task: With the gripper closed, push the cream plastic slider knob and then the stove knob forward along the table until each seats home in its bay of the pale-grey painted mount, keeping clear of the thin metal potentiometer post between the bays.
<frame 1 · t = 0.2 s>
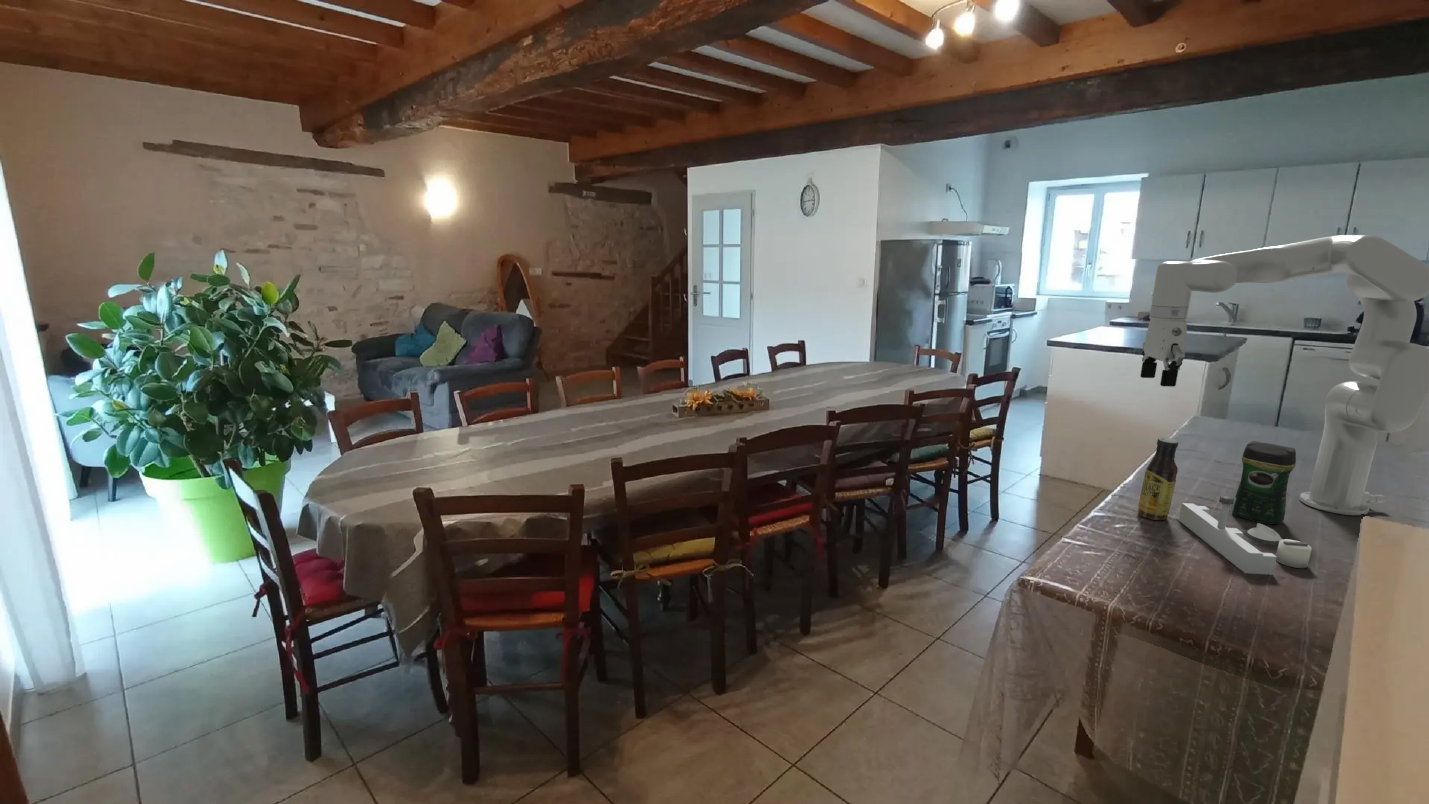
hand: (1157, 381, 158), 31 cm above the table, fingers open, 9 cm apart
mount: (1221, 545, 140), on the table
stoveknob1: (1263, 539, 143), on the table
sauce bottle: (1152, 517, 154), on the table
coffee jar: (1256, 518, 153), on the table
knob slider: (1293, 552, 131), point 2 cm above the table, slide at 0.0 cm
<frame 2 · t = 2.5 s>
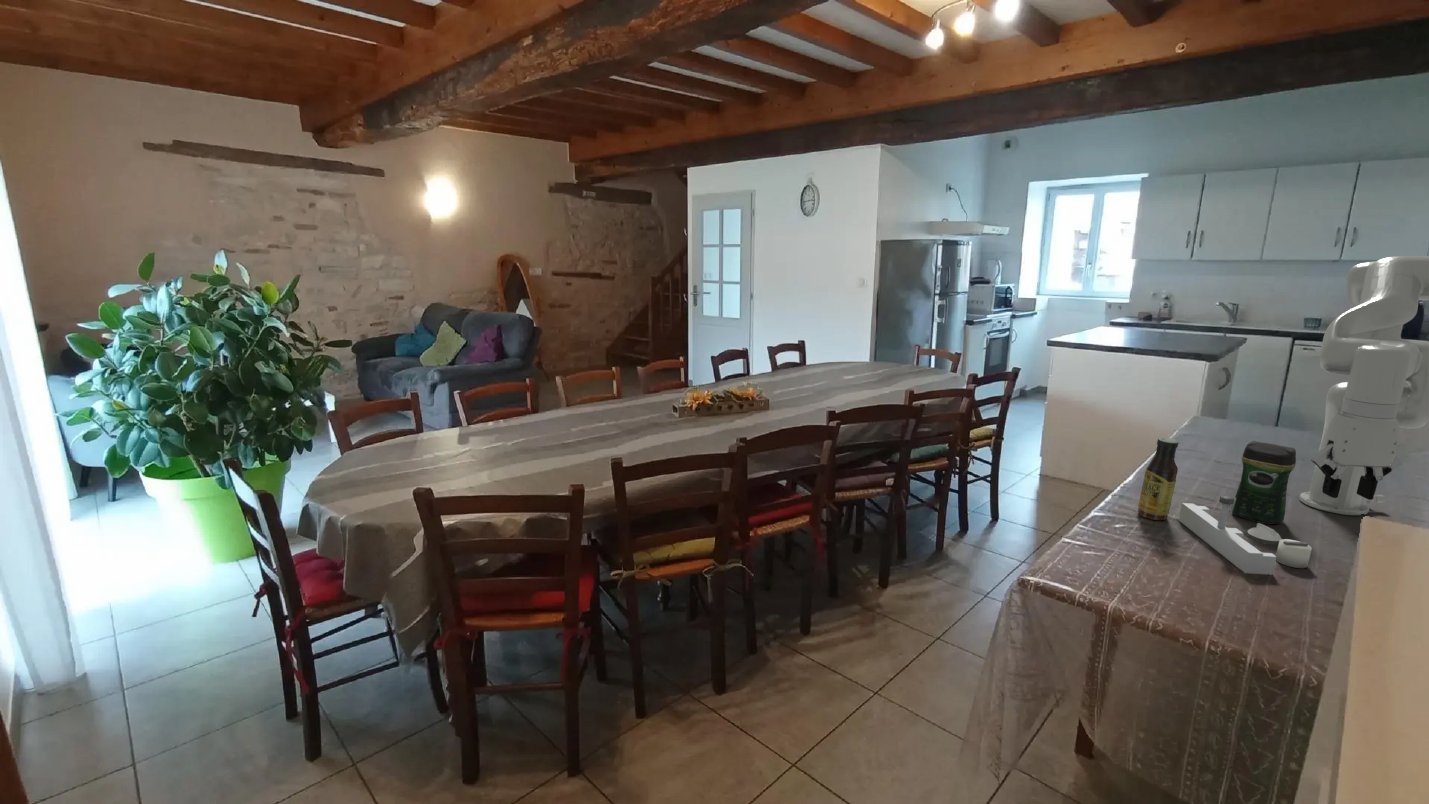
hand: (1347, 495, 127), 15 cm above the table, fingers open, 5 cm apart
nothing on the table moved.
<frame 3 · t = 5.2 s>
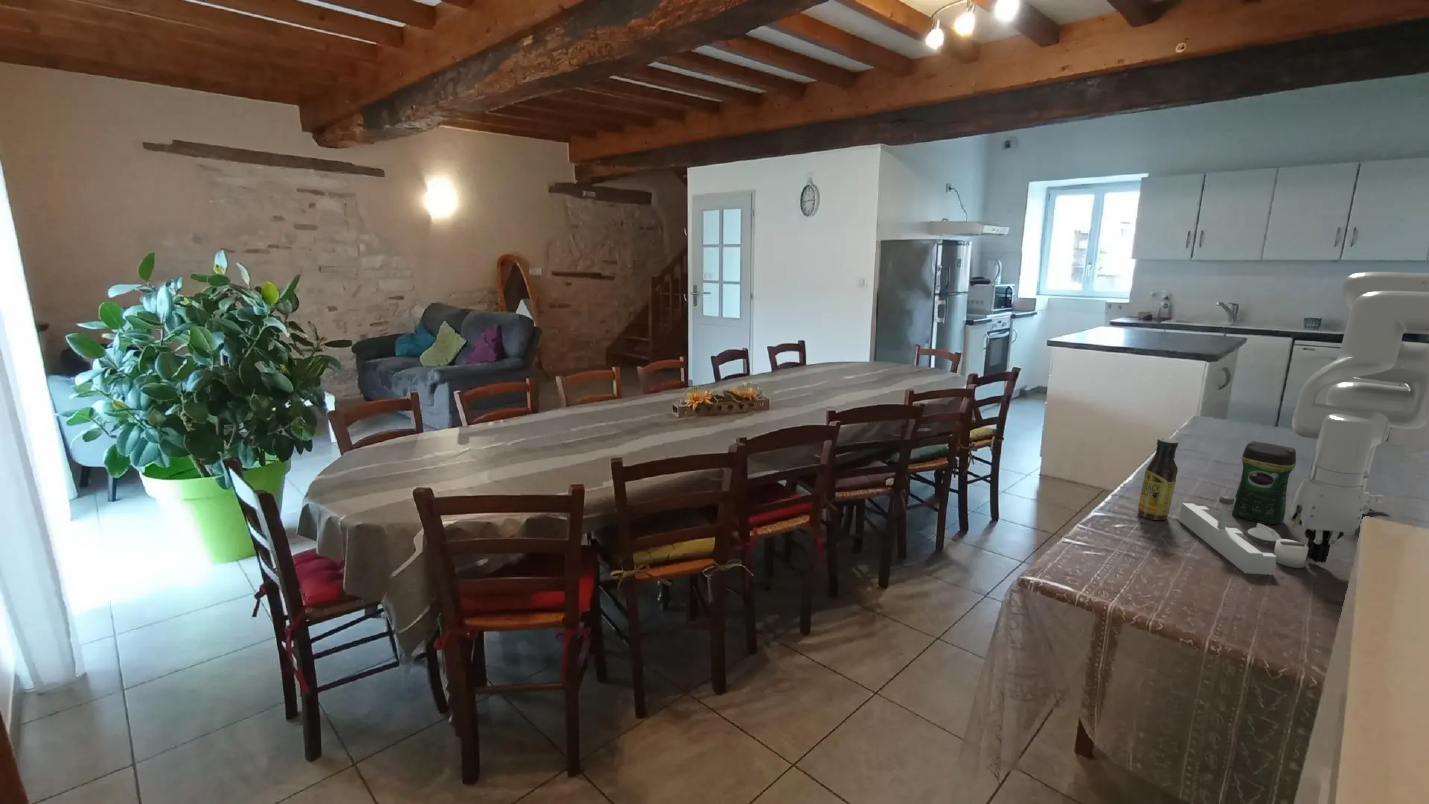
hand: (1315, 559, 131), 1 cm above the table, fingers closed
knob slider: (1290, 552, 131), point 2 cm above the table, slide at 0.6 cm, touching gripper
everything else where it was.
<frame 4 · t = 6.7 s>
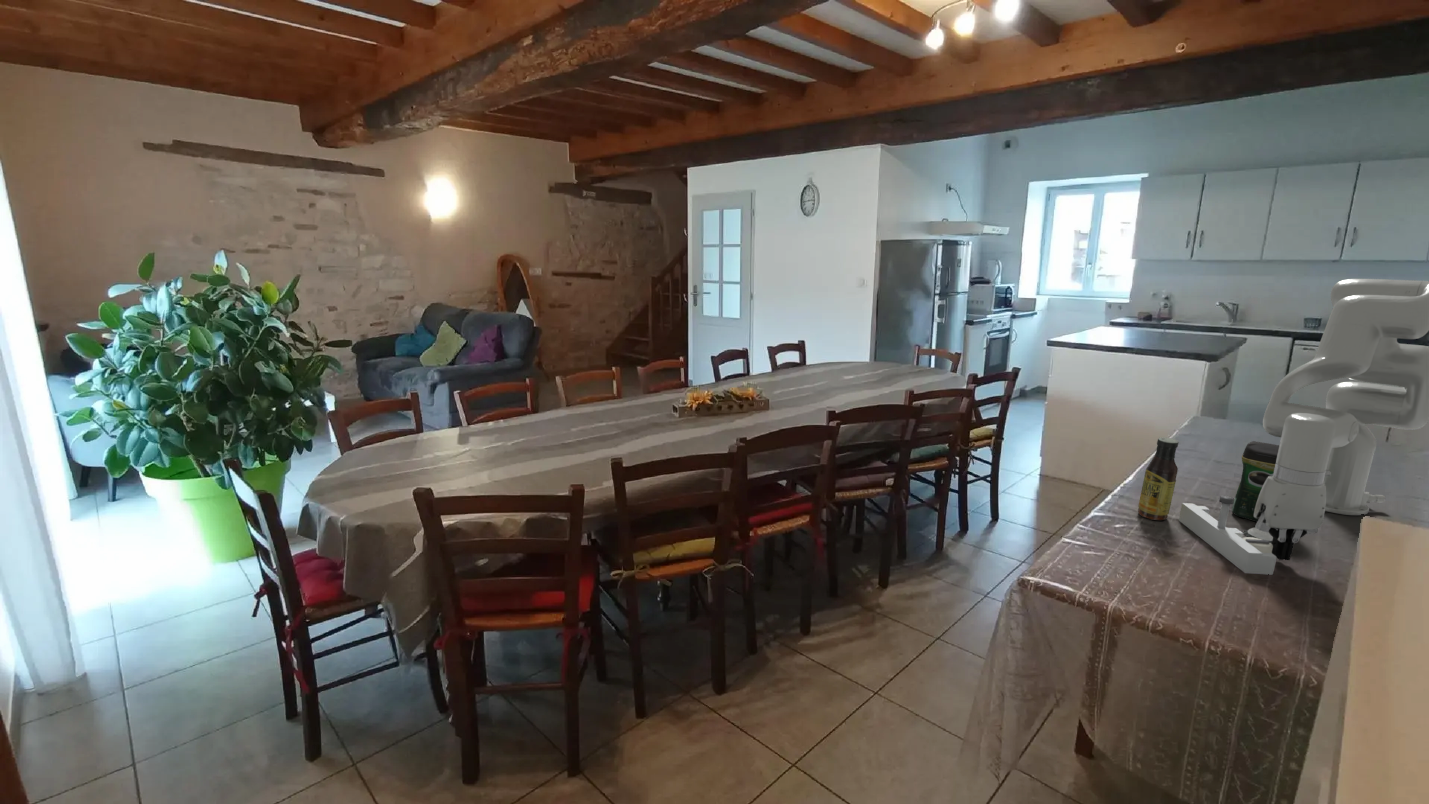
hand: (1279, 556, 132), 1 cm above the table, fingers closed
knob slider: (1255, 550, 132), point 2 cm above the table, slide at 7.0 cm, touching gripper, mount
everything else where it was.
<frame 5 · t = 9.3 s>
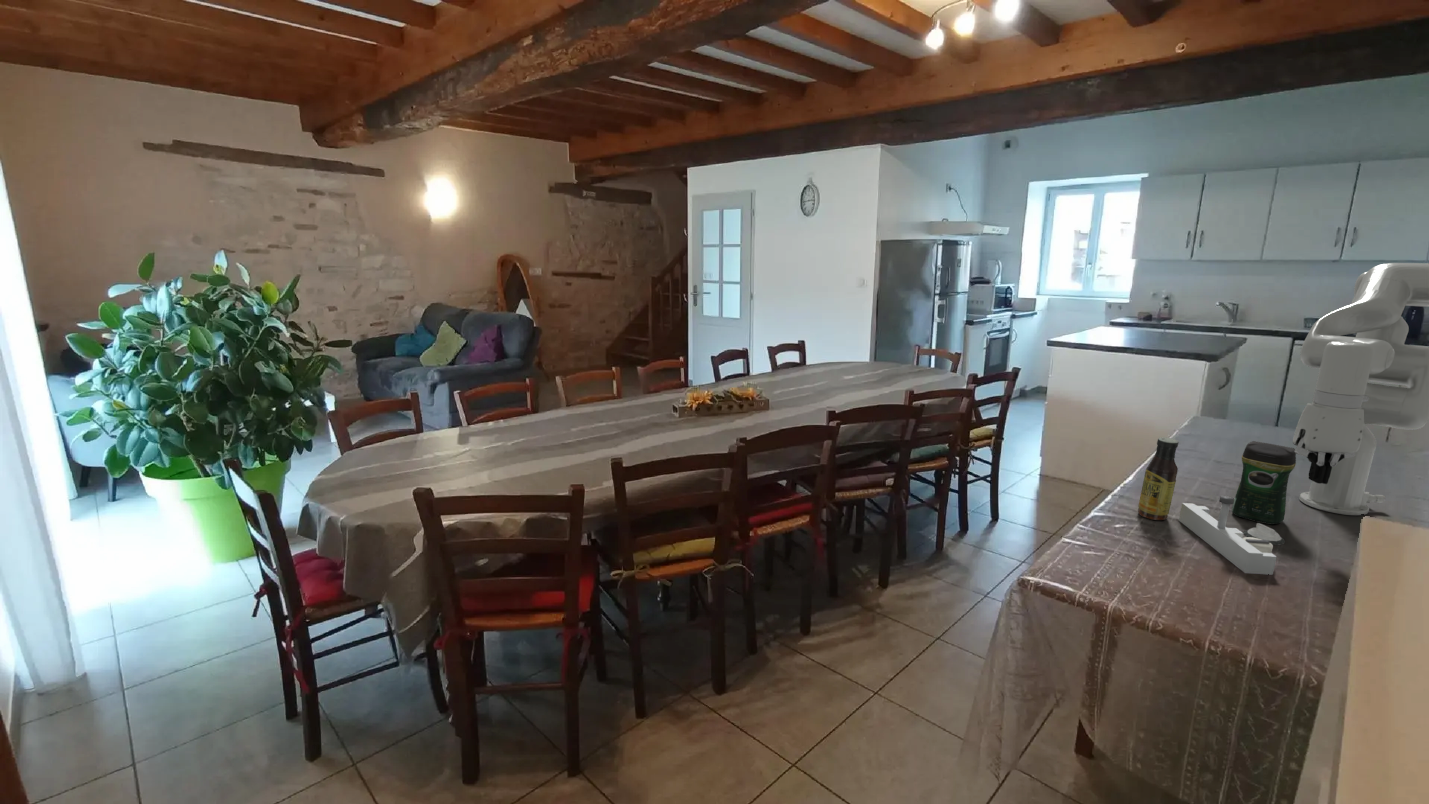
hand: (1317, 481, 138), 14 cm above the table, fingers closed
knob slider: (1255, 550, 132), point 2 cm above the table, slide at 7.0 cm, touching mount
everything else where it was.
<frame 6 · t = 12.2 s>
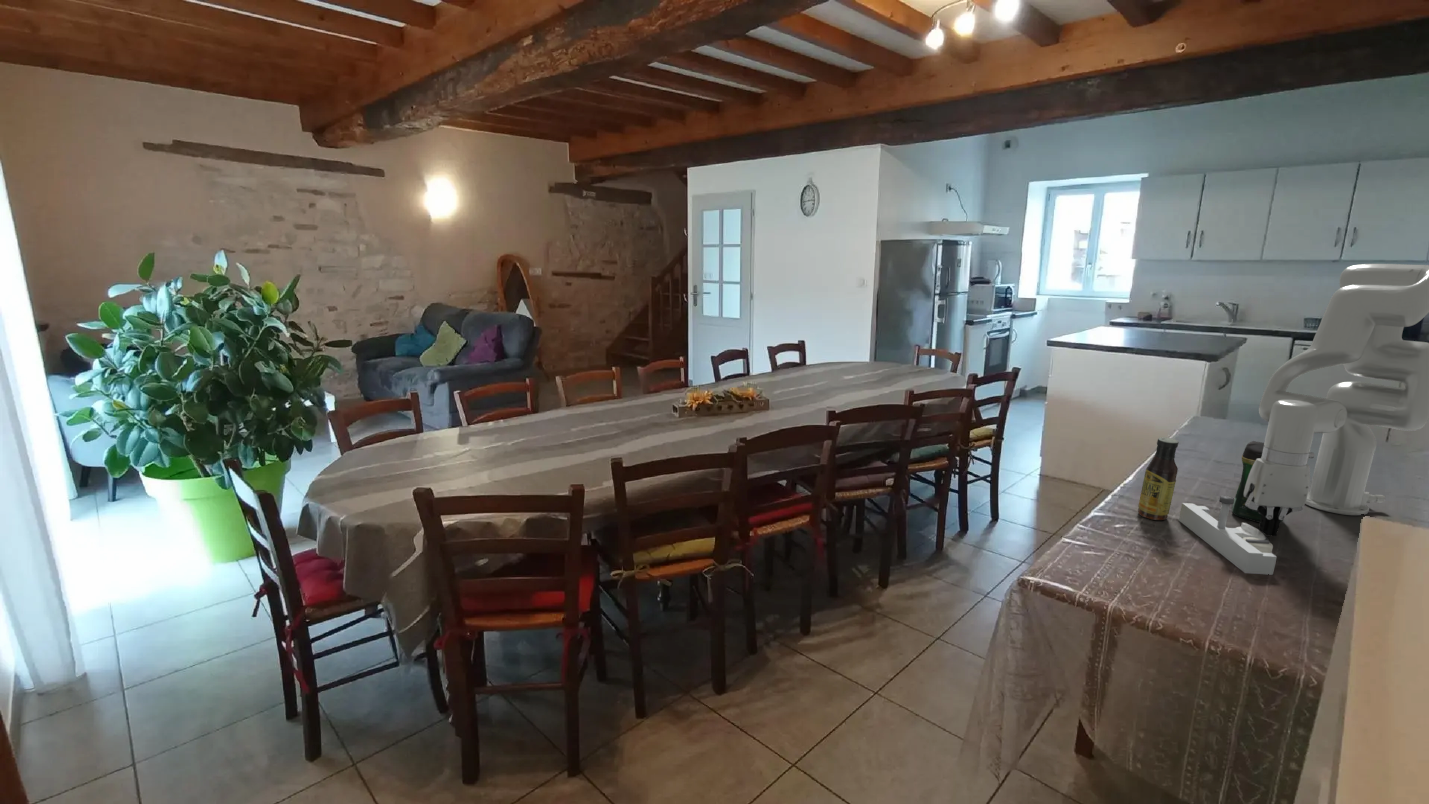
hand: (1267, 533, 143), 1 cm above the table, fingers closed
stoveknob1: (1247, 539, 144), on the table, touching gripper
everything else where it was.
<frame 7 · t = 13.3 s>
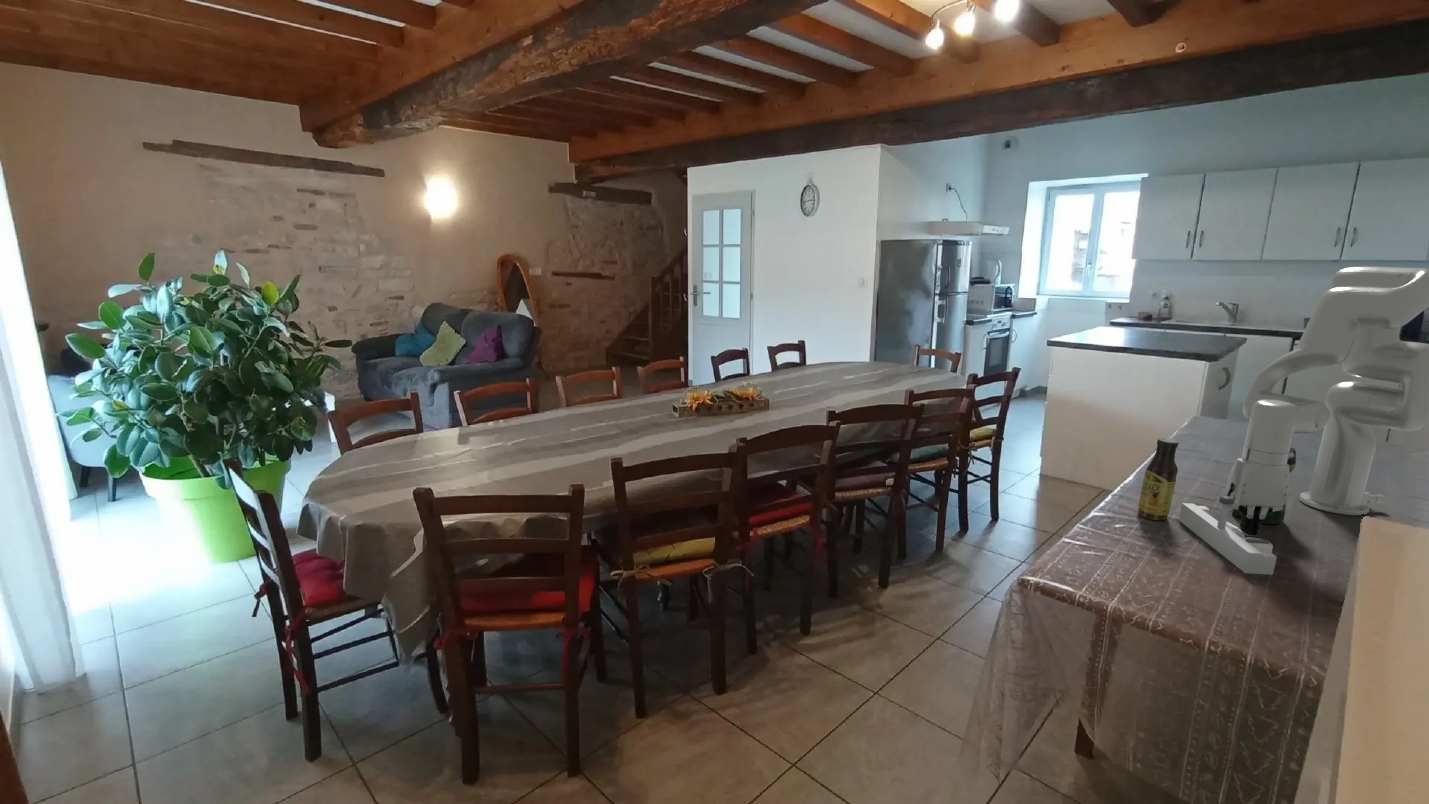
hand: (1248, 532, 143), 1 cm above the table, fingers closed
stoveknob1: (1227, 536, 145), on the table
everything else where it was.
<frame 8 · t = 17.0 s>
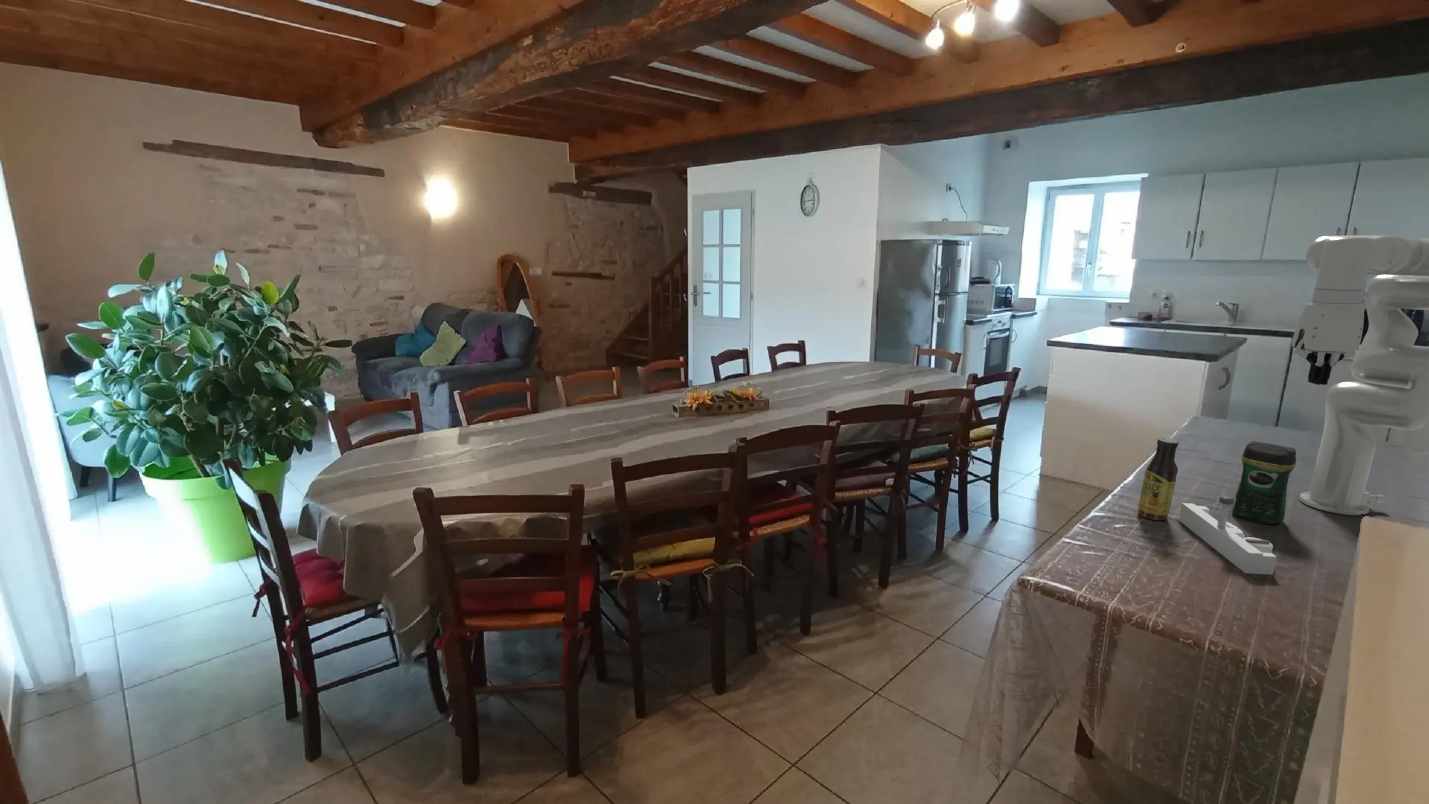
hand: (1317, 383, 137), 35 cm above the table, fingers closed
nothing on the table moved.
at the end: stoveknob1 1.0 cm from the target spot, on the table; knob slider slide at 7.0 cm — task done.
